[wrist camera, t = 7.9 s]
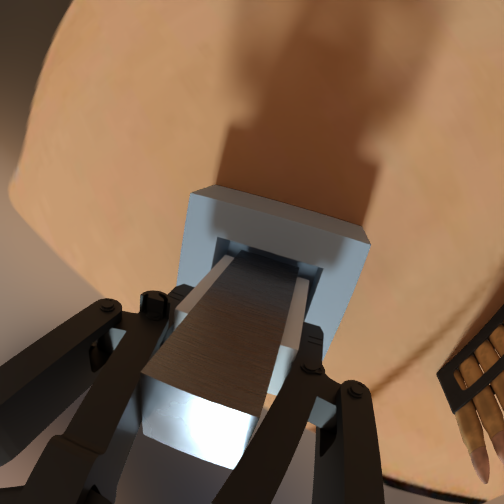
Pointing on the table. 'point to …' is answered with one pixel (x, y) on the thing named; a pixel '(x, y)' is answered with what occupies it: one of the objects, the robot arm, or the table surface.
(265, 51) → the table surface
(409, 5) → the table surface
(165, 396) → the steel pin
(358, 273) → the slot block
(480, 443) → the ammunition clip
